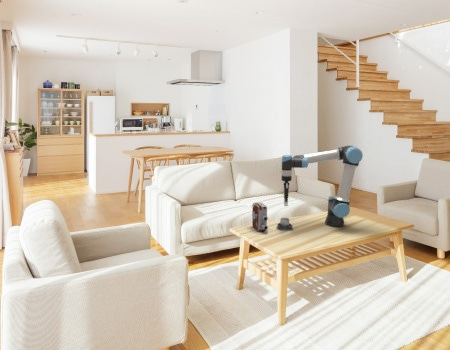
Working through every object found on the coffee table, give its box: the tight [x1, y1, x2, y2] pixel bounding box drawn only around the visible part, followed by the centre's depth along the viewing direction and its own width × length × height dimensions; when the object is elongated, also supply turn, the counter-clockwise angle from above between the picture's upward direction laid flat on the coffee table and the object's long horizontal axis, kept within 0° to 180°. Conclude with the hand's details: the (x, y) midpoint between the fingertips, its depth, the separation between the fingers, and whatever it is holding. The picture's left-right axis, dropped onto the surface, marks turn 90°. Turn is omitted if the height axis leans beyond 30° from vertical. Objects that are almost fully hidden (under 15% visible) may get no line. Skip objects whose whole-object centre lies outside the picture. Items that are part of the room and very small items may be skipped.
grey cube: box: [279, 217, 290, 227], centre depth 304 cm, size 7×7×7 cm
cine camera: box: [251, 202, 269, 232], centre depth 300 cm, size 9×19×20 cm, turn 15°
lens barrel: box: [276, 222, 294, 232], centre depth 305 cm, size 13×13×3 cm
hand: (285, 205), depth 302 cm, fingers closed
